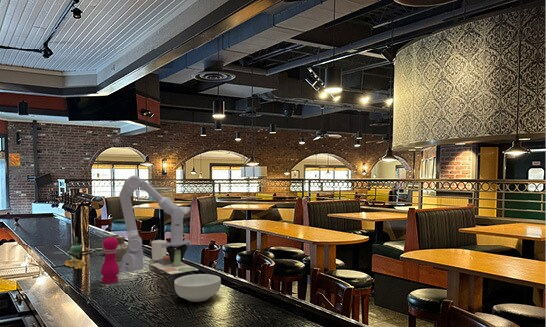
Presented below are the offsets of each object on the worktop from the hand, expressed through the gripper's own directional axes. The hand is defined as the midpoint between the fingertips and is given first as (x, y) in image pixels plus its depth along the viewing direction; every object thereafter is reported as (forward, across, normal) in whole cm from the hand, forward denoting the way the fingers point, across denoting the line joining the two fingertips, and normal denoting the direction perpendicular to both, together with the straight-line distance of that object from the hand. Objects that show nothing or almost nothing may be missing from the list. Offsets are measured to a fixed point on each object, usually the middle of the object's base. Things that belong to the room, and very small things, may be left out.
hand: (176, 261), depth 197 cm
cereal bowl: (+3, -14, -48) cm, 50 cm away
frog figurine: (+3, -38, +33) cm, 50 cm away
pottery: (+3, -16, +40) cm, 43 cm away
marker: (+2, 0, 0) cm, 2 cm away
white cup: (+3, -1, +19) cm, 19 cm away
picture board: (+3, -2, -2) cm, 4 cm away
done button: (+1, -2, +7) cm, 7 cm away
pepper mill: (+3, -33, -7) cm, 34 cm away
